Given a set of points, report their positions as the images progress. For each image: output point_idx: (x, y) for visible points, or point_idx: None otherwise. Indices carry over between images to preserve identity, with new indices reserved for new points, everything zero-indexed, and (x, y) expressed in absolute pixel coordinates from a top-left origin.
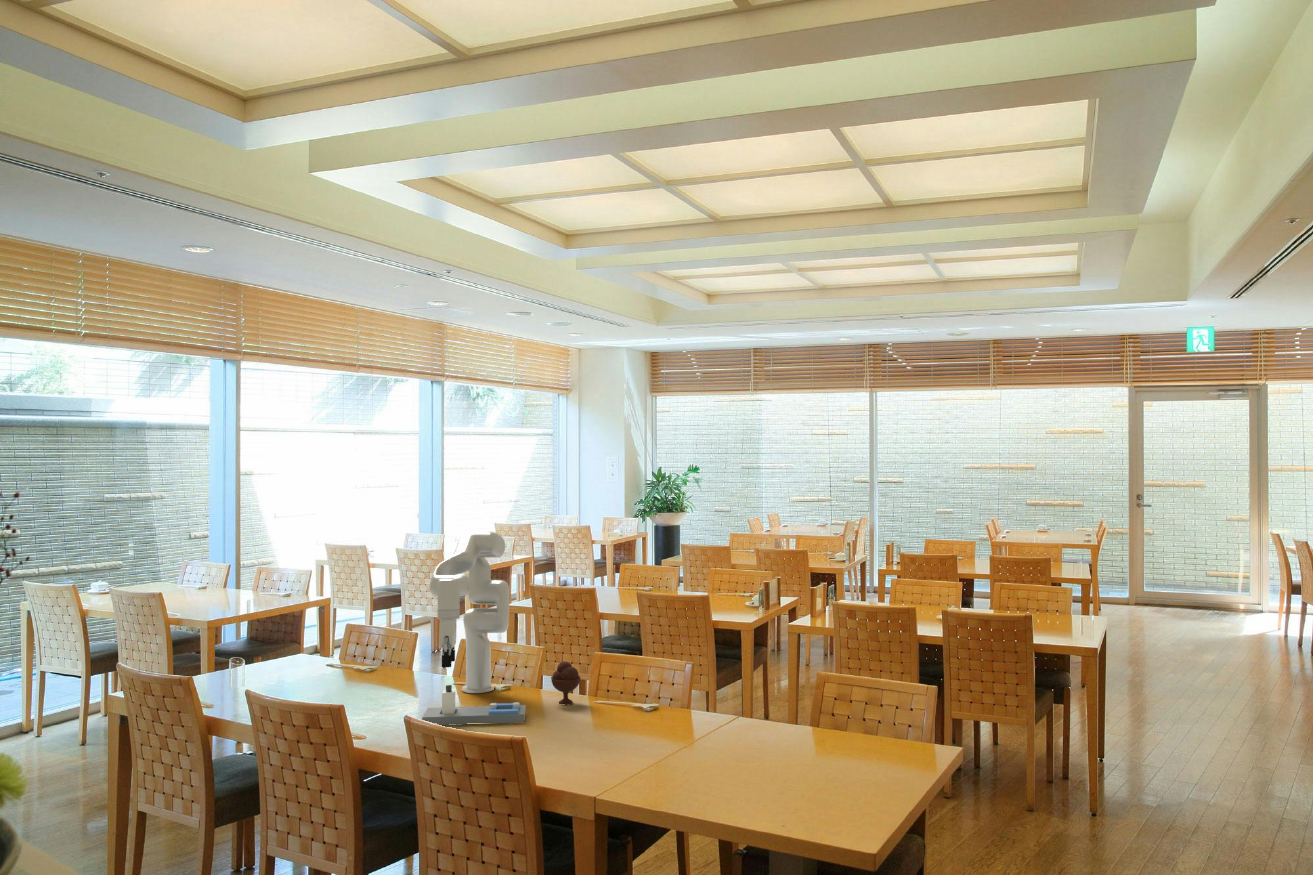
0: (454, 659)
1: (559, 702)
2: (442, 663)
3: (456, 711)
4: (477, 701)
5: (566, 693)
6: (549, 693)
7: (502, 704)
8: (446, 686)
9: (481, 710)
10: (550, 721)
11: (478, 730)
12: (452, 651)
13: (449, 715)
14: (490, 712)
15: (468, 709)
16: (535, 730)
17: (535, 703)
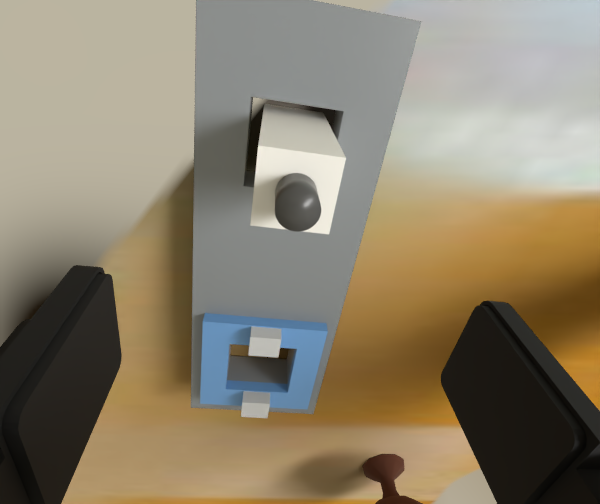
0: (454, 393)
1: (382, 460)
2: (54, 305)
3: None
4: (552, 261)
5: (382, 498)
6: None
7: (303, 364)
8: (283, 193)
9: (274, 290)
10: (203, 434)
11: (112, 254)
12: (510, 486)
13: (214, 153)
14: (203, 323)
15: (307, 241)
16: (108, 402)
17: (418, 412)
